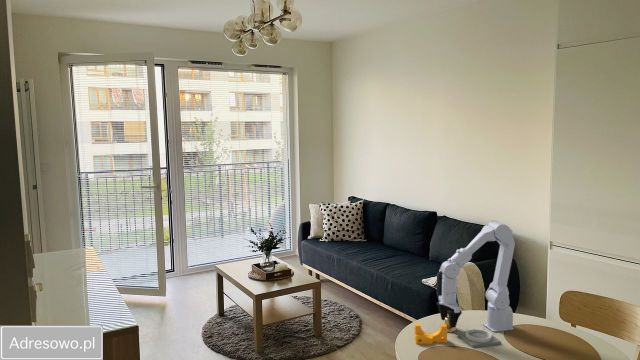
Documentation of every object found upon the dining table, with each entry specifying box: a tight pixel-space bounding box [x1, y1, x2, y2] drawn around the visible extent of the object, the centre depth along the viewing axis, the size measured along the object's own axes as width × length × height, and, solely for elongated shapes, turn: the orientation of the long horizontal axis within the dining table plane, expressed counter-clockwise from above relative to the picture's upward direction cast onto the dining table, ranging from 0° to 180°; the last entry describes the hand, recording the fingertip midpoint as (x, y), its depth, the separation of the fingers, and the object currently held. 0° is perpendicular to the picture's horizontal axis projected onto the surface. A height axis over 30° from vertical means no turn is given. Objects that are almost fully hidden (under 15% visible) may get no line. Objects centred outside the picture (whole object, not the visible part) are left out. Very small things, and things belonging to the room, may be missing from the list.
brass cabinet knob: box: [444, 316, 457, 334], centre depth 194 cm, size 6×6×5 cm
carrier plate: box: [456, 328, 502, 348], centre depth 185 cm, size 12×12×2 cm
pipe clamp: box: [414, 322, 448, 345], centre depth 183 cm, size 12×4×6 cm, turn 86°
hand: (448, 323), depth 194 cm, fingers open, 7 cm apart
